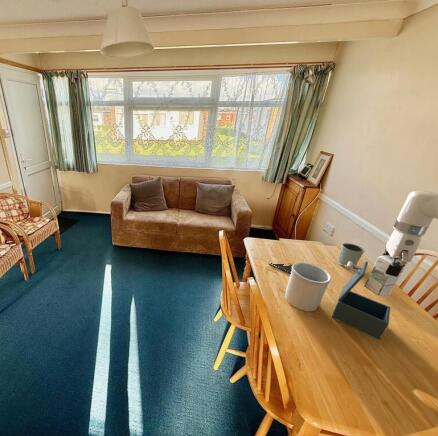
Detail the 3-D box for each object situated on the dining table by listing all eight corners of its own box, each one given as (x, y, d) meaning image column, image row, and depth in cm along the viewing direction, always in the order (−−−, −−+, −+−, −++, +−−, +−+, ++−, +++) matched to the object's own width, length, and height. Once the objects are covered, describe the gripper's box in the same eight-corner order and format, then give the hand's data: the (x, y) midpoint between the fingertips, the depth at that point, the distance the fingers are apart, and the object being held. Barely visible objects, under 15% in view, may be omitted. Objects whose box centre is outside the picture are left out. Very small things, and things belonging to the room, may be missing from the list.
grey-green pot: (335, 265, 137) (342, 248, 132) (334, 257, 144) (341, 241, 139) (357, 271, 131) (365, 253, 127) (355, 263, 139) (363, 246, 134)
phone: (273, 257, 142) (300, 268, 132) (273, 258, 142) (299, 270, 132) (268, 262, 137) (295, 274, 127) (267, 263, 138) (294, 275, 127)
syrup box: (390, 294, 87) (408, 263, 81) (378, 296, 86) (395, 264, 80) (374, 284, 92) (390, 254, 87) (362, 286, 91) (377, 256, 86)
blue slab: (368, 262, 97) (352, 254, 100) (364, 275, 89) (347, 266, 92) (345, 288, 105) (331, 280, 109) (339, 301, 97) (325, 293, 101)
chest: (381, 322, 99) (390, 306, 95) (379, 339, 91) (388, 324, 88) (337, 302, 109) (343, 288, 106) (331, 317, 101) (338, 302, 98)
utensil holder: (307, 317, 101) (319, 286, 94) (276, 296, 113) (285, 267, 106) (325, 305, 107) (338, 276, 100) (294, 286, 119) (304, 258, 112)
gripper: (436, 240, 70) (409, 285, 77) (416, 220, 83) (395, 261, 90) (402, 234, 73) (379, 277, 80) (388, 216, 87) (370, 255, 94)
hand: (388, 268), depth 85 cm, fingers closed on syrup box, 8 cm apart
